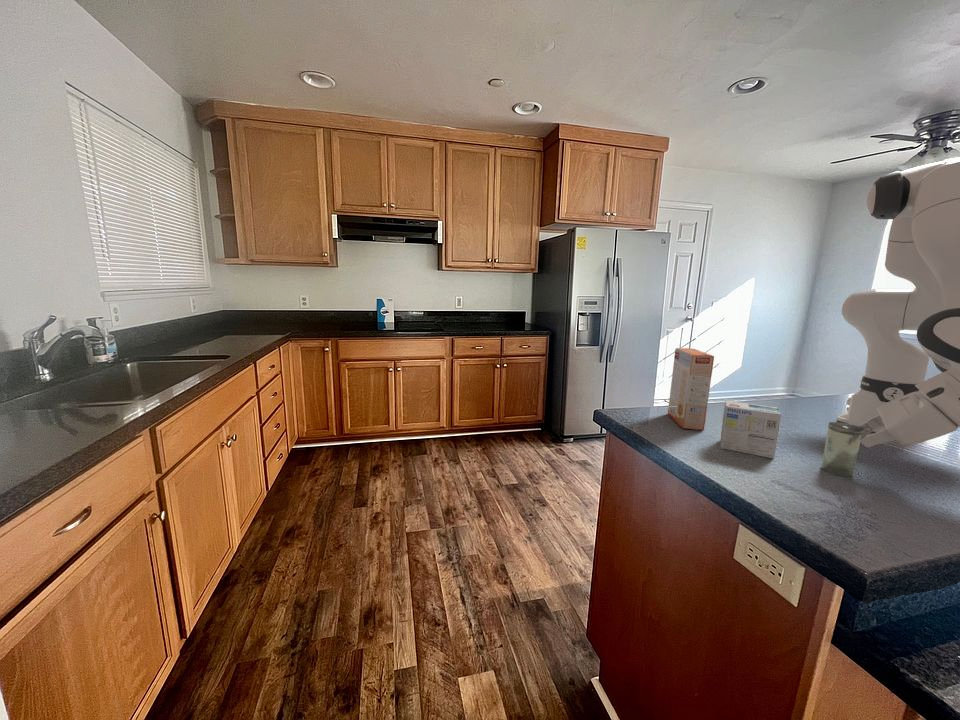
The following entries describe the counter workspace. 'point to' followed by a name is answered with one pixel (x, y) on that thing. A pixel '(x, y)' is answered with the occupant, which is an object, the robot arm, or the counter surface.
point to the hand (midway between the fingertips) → (861, 436)
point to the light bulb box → (750, 428)
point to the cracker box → (690, 387)
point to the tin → (841, 448)
